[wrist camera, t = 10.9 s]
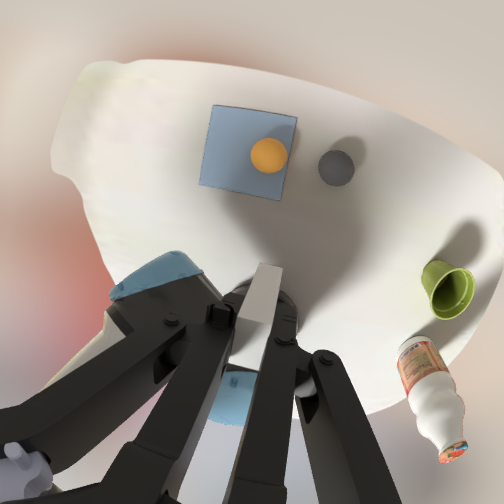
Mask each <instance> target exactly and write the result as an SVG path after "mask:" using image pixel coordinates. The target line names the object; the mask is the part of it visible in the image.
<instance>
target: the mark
mask: <svg viewBox="0 0 504 504" xmlns="http://www.w3.org/2000/svg"><path fill="white" fill-rule="evenodd" d="M296 120H297V118H294V117H289V116H284V115H279V114H273V113H267V112H261V111H255V110H248V109H241V108H233V107H224V106H215V105H213V108H212V113H211V118H210V123H209V129H208V134H207V139H206V145H205V151H204V156H203V162H202V168H201V174H200V181H199V185H204V186H209V187H214V188H220V189H225V190H230V191H235V192H240V193H245V194H250V195H254V196H259V197H264V198H268V199H273V200H277V201H280V197H281V193H282V188H283V183H284V178H285V174H286V169H287V164H288V159H289V154H290V149H291V145H292V140H293V135H294V130H295V125H296ZM265 138H273V139H276V140H278V141H279V142H281V143H282V144H283V145H284V147H285V149H286V151H287V161H286V163H285V165H284V166H283V168H282V169H280V170H279V171H277V172H275V173H263V172H261V171H259V170H258V169H256V168H255V166H254V165H253V163H252V161H251V150H252V148H253V146H254V145H255V144H256V143H257V142H258V141H260V140H262V139H265Z"/></svg>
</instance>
